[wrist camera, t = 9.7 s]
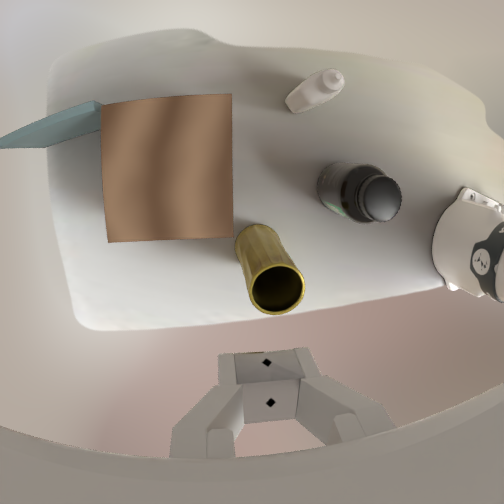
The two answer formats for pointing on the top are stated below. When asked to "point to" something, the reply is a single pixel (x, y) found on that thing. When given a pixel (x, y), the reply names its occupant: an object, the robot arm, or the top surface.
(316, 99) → the eye dropper bottle
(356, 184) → the supplement bottle
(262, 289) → the vase
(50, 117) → the door
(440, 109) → the top surface
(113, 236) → the cabinet box
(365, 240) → the top surface
